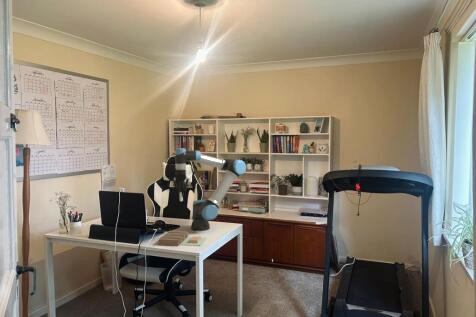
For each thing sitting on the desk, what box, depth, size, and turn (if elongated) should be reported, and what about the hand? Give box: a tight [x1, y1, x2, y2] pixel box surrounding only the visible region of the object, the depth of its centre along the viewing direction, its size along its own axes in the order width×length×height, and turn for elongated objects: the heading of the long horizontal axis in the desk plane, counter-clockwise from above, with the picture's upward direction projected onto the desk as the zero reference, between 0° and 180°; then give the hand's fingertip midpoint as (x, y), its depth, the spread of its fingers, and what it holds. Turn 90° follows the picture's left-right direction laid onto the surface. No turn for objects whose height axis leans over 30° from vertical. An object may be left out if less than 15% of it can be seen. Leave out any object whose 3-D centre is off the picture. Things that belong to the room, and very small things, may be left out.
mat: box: [180, 236, 208, 247], centre depth 244 cm, size 18×14×1 cm
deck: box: [158, 230, 189, 247], centre depth 246 cm, size 22×14×4 cm, turn 171°
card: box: [189, 235, 202, 243], centre depth 244 cm, size 9×6×2 cm, turn 171°
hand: (181, 201), depth 257 cm, fingers closed
